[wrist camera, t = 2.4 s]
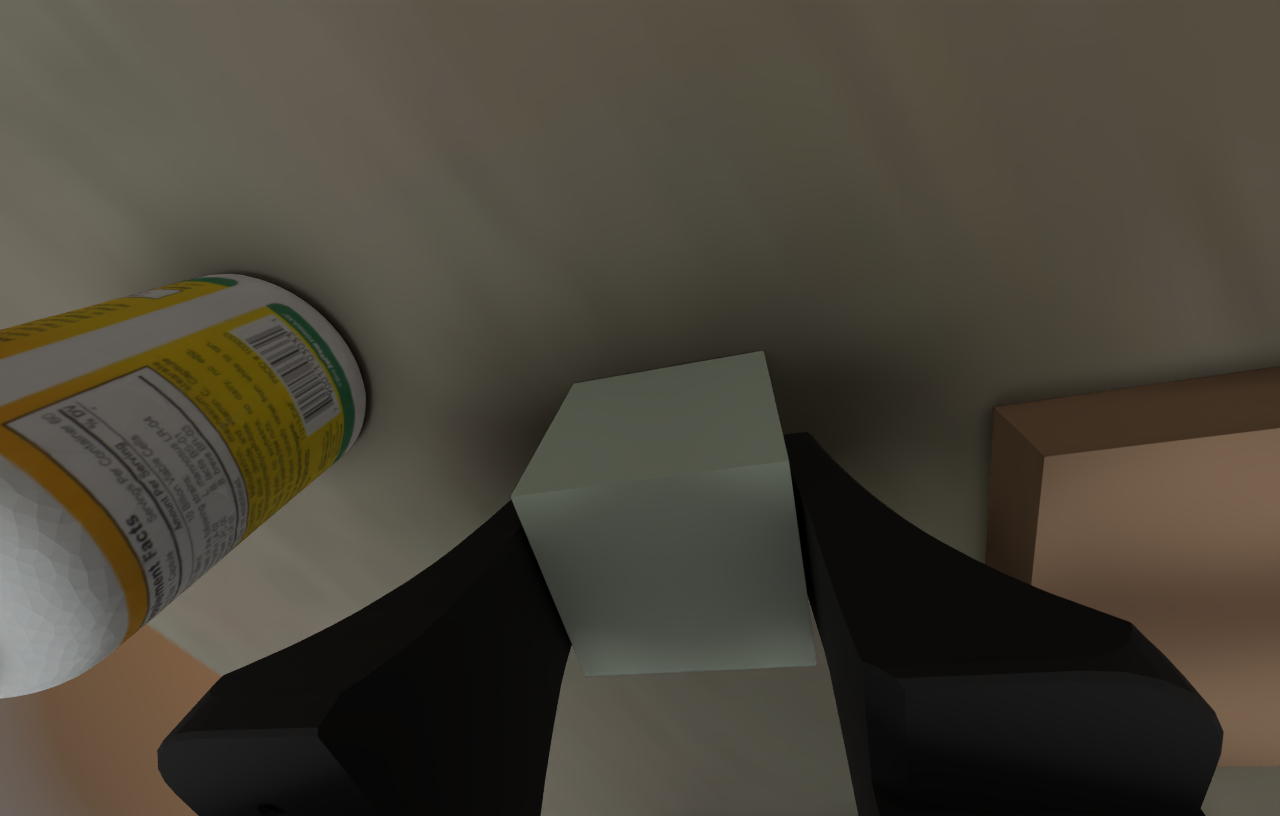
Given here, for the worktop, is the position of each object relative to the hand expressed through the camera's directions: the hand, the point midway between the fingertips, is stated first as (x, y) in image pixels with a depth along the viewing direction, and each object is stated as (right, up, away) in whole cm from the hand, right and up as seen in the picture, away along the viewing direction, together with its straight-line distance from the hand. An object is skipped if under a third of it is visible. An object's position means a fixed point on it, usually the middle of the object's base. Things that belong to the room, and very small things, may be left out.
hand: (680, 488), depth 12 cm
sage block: (0, +1, +1) cm, 2 cm away
